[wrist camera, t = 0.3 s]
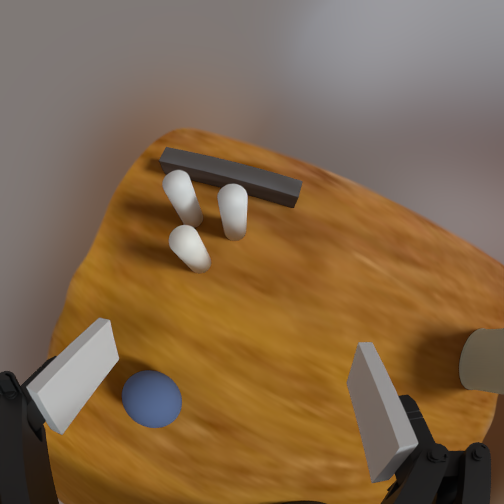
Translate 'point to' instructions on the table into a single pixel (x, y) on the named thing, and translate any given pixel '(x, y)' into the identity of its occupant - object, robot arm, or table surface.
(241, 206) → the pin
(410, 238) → the table surface
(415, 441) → the robot arm
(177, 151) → the back wall
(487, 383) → the can
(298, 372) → the table surface
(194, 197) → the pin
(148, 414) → the ball
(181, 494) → the table surface
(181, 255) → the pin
